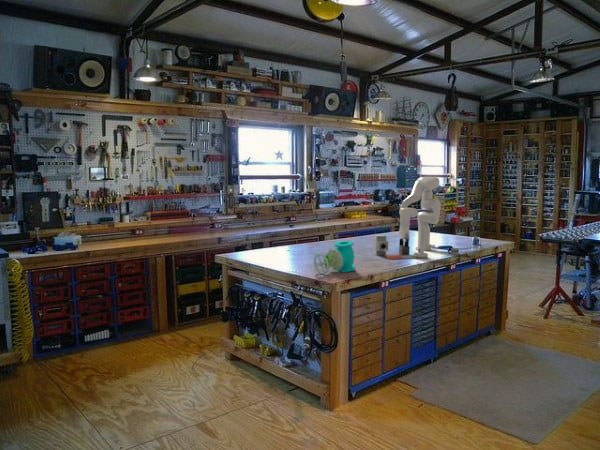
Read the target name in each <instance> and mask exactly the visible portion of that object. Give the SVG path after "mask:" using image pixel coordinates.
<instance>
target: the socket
mask: <svg viewBox="0 0 600 450" xmlns="http://www.w3.org/2000/svg"><path fill="white" fill-rule="evenodd" d="M398 254H400V255H410V246H409V247H404V244H403V245H399V246H398Z"/></svg>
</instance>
